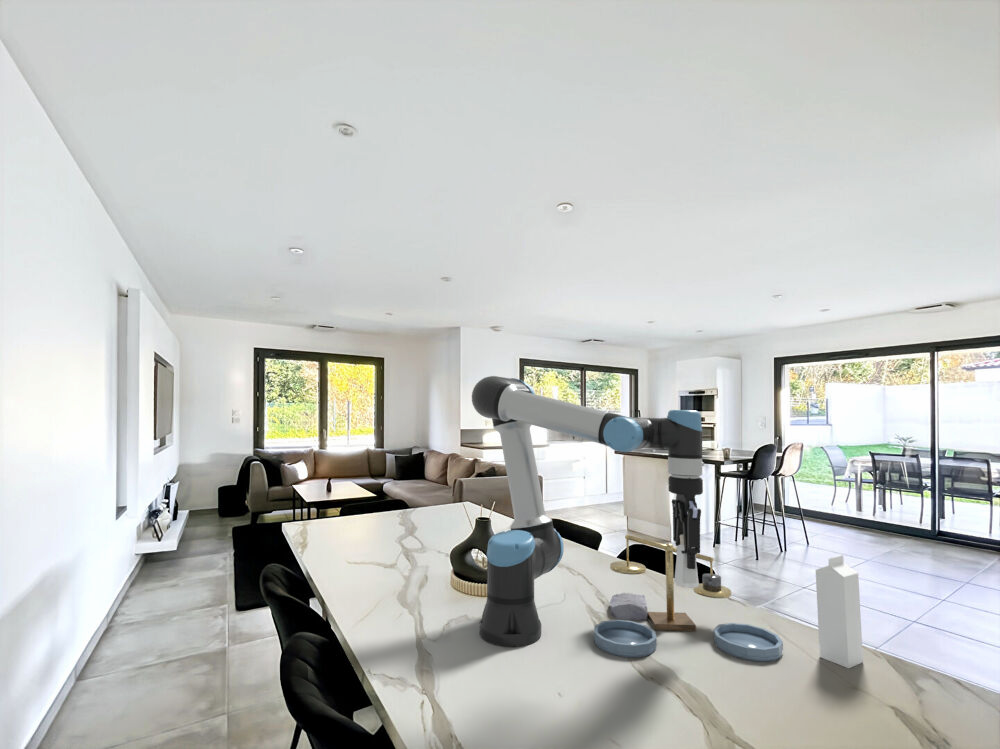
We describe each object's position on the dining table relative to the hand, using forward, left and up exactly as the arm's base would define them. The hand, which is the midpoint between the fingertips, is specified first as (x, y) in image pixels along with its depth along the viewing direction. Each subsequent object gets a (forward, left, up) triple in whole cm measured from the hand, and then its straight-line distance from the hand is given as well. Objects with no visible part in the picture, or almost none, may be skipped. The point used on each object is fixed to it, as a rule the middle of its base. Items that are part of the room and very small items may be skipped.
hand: (686, 578), depth 115 cm
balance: (-9, +12, -16) cm, 22 cm away
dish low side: (+9, +11, -16) cm, 22 cm away
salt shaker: (0, 0, -1) cm, 1 cm away
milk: (+26, +19, -16) cm, 36 cm away
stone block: (-22, +12, -16) cm, 30 cm away
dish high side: (-12, -6, -16) cm, 21 cm away
